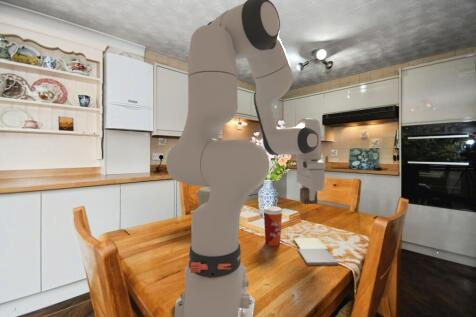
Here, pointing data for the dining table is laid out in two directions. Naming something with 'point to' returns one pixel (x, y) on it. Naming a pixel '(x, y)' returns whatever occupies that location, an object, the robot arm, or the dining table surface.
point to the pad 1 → (309, 243)
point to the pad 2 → (317, 257)
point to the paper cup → (272, 225)
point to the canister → (203, 195)
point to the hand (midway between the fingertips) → (308, 198)
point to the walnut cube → (306, 196)
